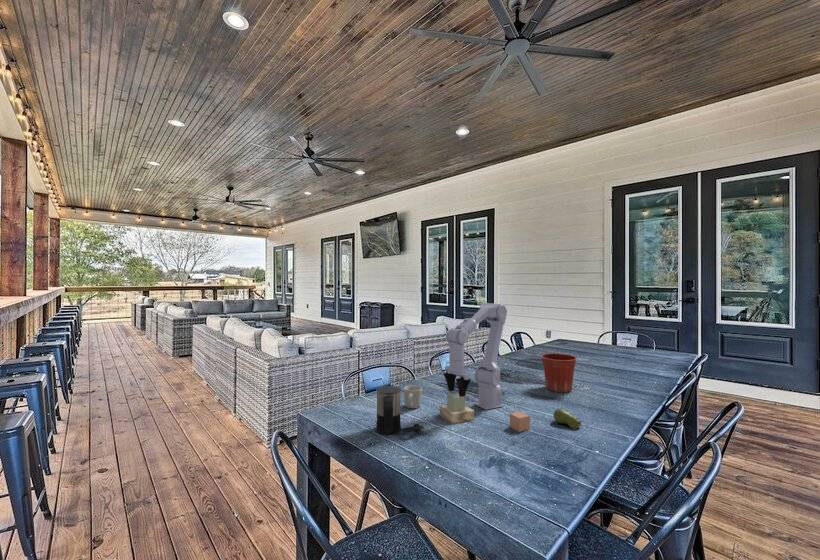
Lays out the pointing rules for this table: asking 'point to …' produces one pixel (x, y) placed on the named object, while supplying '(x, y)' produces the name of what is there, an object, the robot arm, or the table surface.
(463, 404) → the sage cube
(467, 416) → the base block
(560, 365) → the flower pot
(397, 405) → the milk frother
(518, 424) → the terracotta cube
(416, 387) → the cup
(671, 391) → the table surface
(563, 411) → the pear
